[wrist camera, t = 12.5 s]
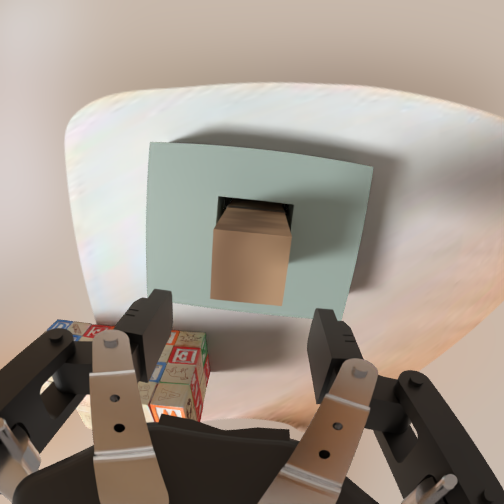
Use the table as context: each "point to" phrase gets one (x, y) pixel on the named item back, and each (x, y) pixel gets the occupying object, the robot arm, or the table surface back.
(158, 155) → the socket board
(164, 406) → the stack of blocks
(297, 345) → the table surface
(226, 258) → the walnut peg
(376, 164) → the table surface
